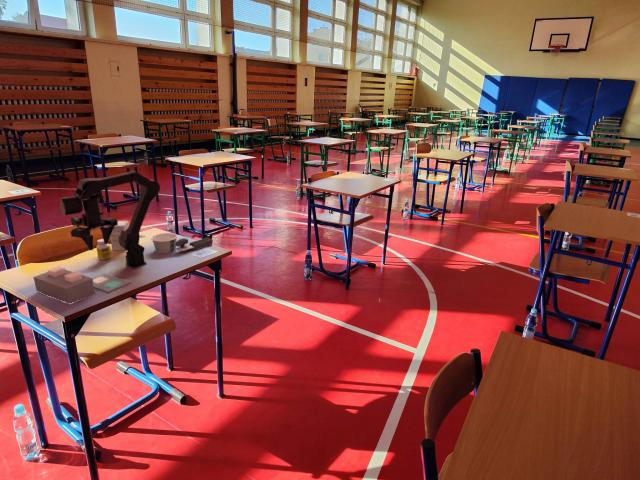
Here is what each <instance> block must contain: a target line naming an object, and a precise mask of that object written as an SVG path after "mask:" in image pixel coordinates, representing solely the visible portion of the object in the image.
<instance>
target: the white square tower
mask: <svg viewBox="0 0 640 480" xmlns="http://www.w3.org/2000/svg"><path fill="white" fill-rule="evenodd" d="M117 222H118V225H116V226H114V227H115V228H113V230H112V233H111V235H110V238H109V241H110V247H111V249H112V251H126V250H125V249H124V248H123V247H121V246H120V244H119V239H118V238H119V237H120V234H121V231H122V230H123V231H126V230H127V229H128V227H129V225H130V222H129V221H128V220H119V221H118V220H117Z"/></svg>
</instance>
